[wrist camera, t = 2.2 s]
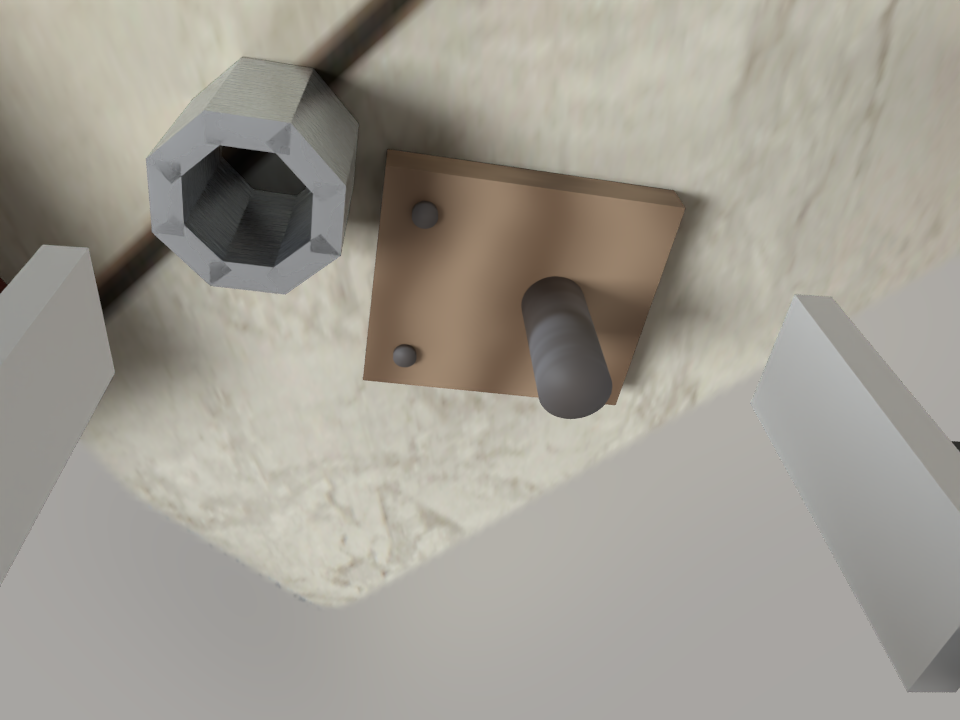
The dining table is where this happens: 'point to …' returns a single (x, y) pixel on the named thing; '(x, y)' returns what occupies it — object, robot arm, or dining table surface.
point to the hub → (232, 201)
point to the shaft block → (514, 280)
